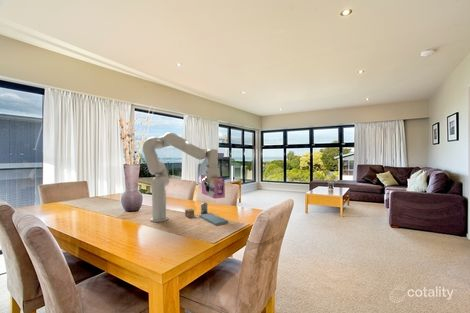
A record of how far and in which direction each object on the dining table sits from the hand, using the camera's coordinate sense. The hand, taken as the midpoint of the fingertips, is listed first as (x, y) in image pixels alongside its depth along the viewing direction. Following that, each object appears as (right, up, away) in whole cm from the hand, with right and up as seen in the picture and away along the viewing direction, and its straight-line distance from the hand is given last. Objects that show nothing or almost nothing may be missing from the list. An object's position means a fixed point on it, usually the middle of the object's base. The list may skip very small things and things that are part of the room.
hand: (212, 190), depth 164 cm
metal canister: (-9, -21, +18) cm, 29 cm away
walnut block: (-19, -21, +9) cm, 30 cm away
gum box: (0, -4, 0) cm, 4 cm away
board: (0, -21, +1) cm, 21 cm away
